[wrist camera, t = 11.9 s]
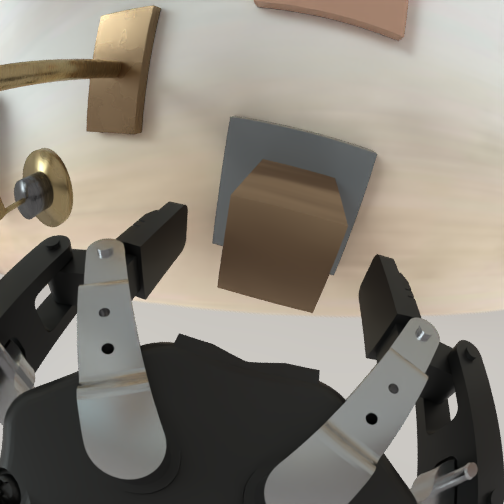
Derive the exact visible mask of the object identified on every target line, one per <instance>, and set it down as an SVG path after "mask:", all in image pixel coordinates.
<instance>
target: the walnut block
mask: <svg viewBox="0 0 504 504" xmlns="http://www.w3.org/2000/svg"><path fill="white" fill-rule="evenodd" d="M347 228H348V224H347V220H346V216H345V212H344V208H343V205H342V201H341V197H340V194H339V190H338V187H337V183H336V180H335V178H333V177H330V176H327V175H323V174H320V173H316V172H312V171H309V170H305V169H301V168H297V167H294V166H290V165H286V164H282V163H278V162H273V161H269V160H265V159H262V161H261V162H260V163H259V164H258V165H257V166H256V167H255V168H254V169H253V170H252V172H251V173H250V174H249V175H248V176H247V177H246V178H245V179H244V181H243V182H242V183H241V184H240V185H239V186H238V187H237V188H236V190H235V191H234V192H233V193H232V194H231V197H230V203H229V210H228V216H227V223H226V229H225V236H224V243H223V250H222V257H221V264H220V271H219V279H218V286H217V287H218V288H222V289H225V290H229V291H232V292H236V293H239V294H243V295H246V296H250V297H254V298H257V299H261V300H265V301H268V302H272V303H276V304H279V305H283V306H287V307H291V308H295V309H299V310H303V311H307V312H311V313H313V311H314V309H315V306H316V304H317V302H318V300H319V297H320V295H321V293H322V290H323V288H324V286H325V283H326V281H327V279H328V276H329V274H330V271H331V269H332V266H333V264H334V261H335V259H336V256H337V254H338V251H339V249H340V246H341V244H342V241H343V238H344V236H345V233H346V230H347Z"/></svg>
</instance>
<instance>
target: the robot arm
mask: <svg viewBox="0 0 504 504" xmlns="http://www.w3.org/2000/svg"><path fill="white" fill-rule="evenodd" d="M187 213H188V209H187V206H186V205H183V204H178V203H174V202H168V203H167V204H166V205H164V206H163V207H162V208H161V209H160V210H155V211H152V212H150V213H147V214H145V215H144V216H143V217H142V218H140V219H139V221H137V222H135V223H134V224H133V226H131V227H129V228H128V229H127V230H126V231H125V232H124V233H122V234H121V235H120V236H119V237H118V238H117V239H102V240H98V241H96V242H94V243H92V244H91V245H90V246H89V247H88V248H87V250H78V249H72V248H71V243H70V240H69V238H68V237H66V236H61V235H57V236H52V237H49V238H47V239H45V240H44V241H42V242H41V243H40V244H39V245H38V246H36V247H35V248H34V249H33V250H32V251H31V252H29V253H28V254H27V255H26V256H25V257H24V258H23V259H22V260H21V261H19V262H18V263H17V264H16V265H15V266H14V267H13V268H12V269H11V270H10V271H9V272H8V273H7V274H6V275H5V276H4V277H3V278H2V279H1V280H0V423H1V424H2V425H3V441H2V450H1V457H0V504H503V502H504V463H503V452H502V444H501V437H500V430H499V424H498V419H497V414H496V409H495V404H494V400H493V396H492V392H491V388H490V384H489V380H488V377H487V374H486V370H485V367H484V364H483V361H482V357H481V355H480V353H479V351H478V350H477V348H476V347H475V346H474V345H473V344H472V343H470V342H468V341H466V340H461V341H459V342H458V343H457V344H456V346H455V347H454V348H451V347H449V346H447V345H445V344H443V343H441V342H440V337H439V334H438V332H437V330H436V329H435V327H434V326H433V325H432V324H431V323H429V322H428V321H426V320H424V319H422V318H421V316H420V313H419V310H418V307H417V304H416V301H415V299H414V296H413V293H412V292H411V288H410V286H409V283H408V281H407V280H406V279H405V277H404V276H403V275H402V274H401V273H399V271H398V269H397V266H396V264H395V261H394V259H392V258H389V257H385V256H382V255H378V254H377V255H376V256H375V257H374V258H373V260H372V263H371V265H370V267H369V269H368V271H367V273H366V275H365V277H364V279H363V282H362V284H361V286H360V290H359V303H360V310H361V318H362V325H363V333H364V341H365V342H364V343H365V352H366V358H369V359H375V360H377V364H376V366H375V367H374V368H373V369H372V370H371V372H370V373H369V374H368V375H367V376H366V377H365V379H364V380H363V381H362V382H361V383H360V384H359V386H358V387H357V388H356V389H355V390H354V391H353V392H352V393H351V395H350V396H349V397H348V398H347V399H346V400H345V399H344V398H343V397H342V396H341V395H340V394H339V393H338V392H336V391H335V390H334V389H332V388H331V387H330V386H327V385H326V384H324V383H322V382H320V381H319V370H316V369H310V368H305V367H301V366H296V365H291V364H286V363H256V362H255V363H254V362H246V361H244V360H242V359H240V358H238V357H236V356H234V355H232V354H230V353H228V352H226V351H225V350H223V349H221V348H219V347H217V346H215V345H213V344H211V343H208V342H204V341H201V340H198V339H195V338H191V337H188V336H186V335H183V334H179V335H178V337H177V339H176V341H175V342H174V343H171V342H159V343H150V344H145V345H142V346H140V342H139V337H138V333H137V328H136V322H135V317H134V312H133V306H132V300H133V298H134V297H135V296H137V297H140V298H142V299H145V300H146V298H147V297H148V296H149V294H150V293H151V292H152V290H153V289H154V288H155V286H156V285H157V284H158V282H159V281H160V280H161V278H162V277H163V276H164V274H165V273H166V272H167V270H168V269H169V268H170V266H171V265H172V264H173V262H174V261H175V260H176V259H177V257H178V256H179V255H180V253H181V252H182V250H183V248H184V246H185V242H186V231H187ZM47 284H48V285H49V287H50V290H51V294H50V295H49V296H48V297H47V298H46V299H45V300H44V301H43V303H42V304H41V305H40V306H39V307H38V308H37V310H36V309H35V299H36V296H37V295H38V293H39V292H40V291H41V290H42V289H43V288H44V287H45V286H46V285H47ZM76 314H77V350H78V370H79V371H77V372H75V373H73V374H70V375H67V376H65V377H62V378H60V379H57V380H54V381H52V382H49V383H46V384H44V385H41V386H38V387H36V388H35V387H34V382H35V372H36V371H37V369H38V368H39V366H40V365H41V363H42V361H43V360H44V359H45V357H46V355H47V354H48V353H49V351H50V350H51V348H52V347H53V345H54V344H55V342H56V341H57V340H58V338H59V337H60V335H61V334H62V333H63V331H64V330H65V328H66V327H67V326H68V324H69V323H70V322H71V320H72V319H73V318H74V316H75V315H76ZM454 392H456V397H457V403H458V411H457V414H456V416H455V418H454V419H453V420H452V421H451V419H450V412H449V405H448V398H449V397H450V396H451V395H452V394H453V393H454ZM414 405H416V418H417V439H418V470H417V471H418V472H417V478H416V480H415V481H414V483H413V485H412V488H411V489H409V488H408V487H407V485H406V484H405V483H404V481H403V480H402V478H401V477H400V475H399V474H398V473H397V471H396V470H395V468H394V467H393V466H392V464H391V463H390V461H389V460H388V459H387V457H386V456H385V454H384V452H385V451H386V449H387V448H388V446H389V445H390V443H391V442H392V440H393V439H394V437H395V436H396V434H397V433H398V431H399V430H400V428H401V427H402V425H403V423H404V422H405V420H406V418H407V417H408V415H409V413H410V412H411V410H412V408H413V406H414Z"/></svg>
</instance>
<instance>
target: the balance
mask: <svg viewBox="0 0 504 504" xmlns="http://www.w3.org/2000/svg"><path fill="white" fill-rule="evenodd" d="M160 10H161V8H159V7H156V6H154V5H153V6H146V7H140V8H135V9H130V10H125V11H120V12H116V13H111V14H107V15H104V16H101V19H100V24H99V28H98V33H97V38H96V43H95V49H94V55H93V59H55V60H39V61H28V62H19V63H11V64H5V65H0V91H3V90H7V89H12V88H17V87H22V86H28V85H34V84H40V83H47V82H55V81H65V80H77V79H90V85H89V96H88V110H87V131H90V132H109V133H124V134H137V133H141V132H142V121H143V110H144V101H145V92H146V84H147V77H148V70H149V64H150V58H151V52H152V47H153V42H154V37H155V32H156V27H157V23H158V18H159V14H160ZM14 196H15V201H16V202H15V203H13V204H12V205H10V206H8V207H7V208H5V207H4V205H3V203H2V200H1V198H0V220H1V219H2V218H3V217H4V216H5V215H6V214H7V213H8V212H10V211H11V210H13V209H15V208H16V207H18V209H19V211H20V213H21V214H22V215H23V216H24V217H25V218H26V219H32V218H33V217H35V216H36V217H37V218H38V219H39V220H40V221H41V222H42V223H43V224H45V225H47V226H49V227H57V226H59V225H60V224H62V223H63V222H65V221H66V220H67V219H68V217H69V216H70V213H71V210H72V205H73V191H72V185H71V181H70V177H69V174H68V171H67V169H66V167H65V165H64V163H63V161H62V160H61V158H60V157H59V156H58V155H57V154H56V153H55V152H54V151H52V150H50V149H48V148H41V149H39V150H36V151H33V152H32V153H31V154H30V155H29V156H28V157H27V159H26V161H25V164H24V169H23V179H21V180H19V181H17V183H16V184H15V188H14Z"/></svg>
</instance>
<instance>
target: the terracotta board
mask: <svg viewBox="0 0 504 504" xmlns="http://www.w3.org/2000/svg"><path fill="white" fill-rule="evenodd" d="M254 2H255V4H256V5H257V7H263V8H273V9H281V10H288V11H294V12H300V13H305V14H311V15H315V16H320V17H325V18H329V19H333V20H337V21H341V22H344V23H348V24H351V25H355V26H358V27H361V28H364V29H367V30H370V31H373V32H376V33H379V34H382V35H384V36H387V37H390V38H392V39H395V40H397V41H399V40H400V39H402V38H403V37H404V32H405V25H406V18H407V9H408V0H254Z"/></svg>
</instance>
